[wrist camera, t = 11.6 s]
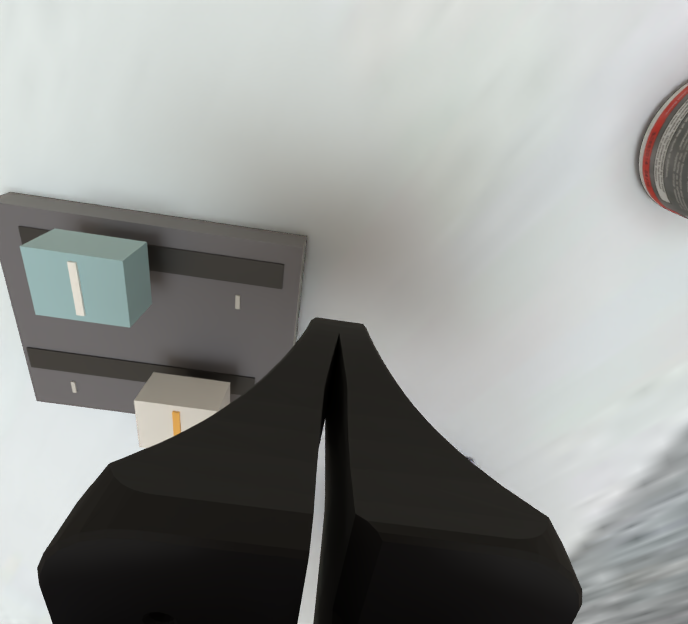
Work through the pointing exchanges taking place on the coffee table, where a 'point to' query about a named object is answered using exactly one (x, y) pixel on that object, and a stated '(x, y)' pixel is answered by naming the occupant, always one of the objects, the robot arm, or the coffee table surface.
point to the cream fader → (176, 405)
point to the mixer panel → (158, 304)
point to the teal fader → (88, 277)
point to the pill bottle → (667, 155)
